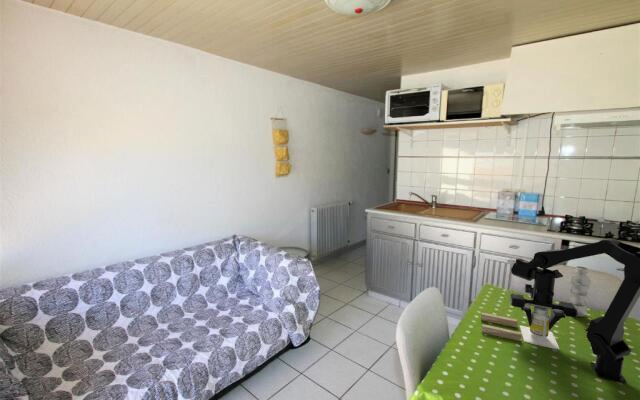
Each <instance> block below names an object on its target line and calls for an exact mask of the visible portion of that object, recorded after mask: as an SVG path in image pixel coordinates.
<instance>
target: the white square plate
mask: <svg viewBox="0 0 640 400" xmlns="http://www.w3.org/2000/svg"><path fill="white" fill-rule="evenodd" d="M519 330H520V332H521V338H522V340H523V342H524V343H527V344H531V345H536V346H540V347H545V348H550V349H553V350H558V351H560V350H561V348H560V347H559V345H558V342H557V340H556V338H555V335H554V333H553V332H552V331H551V330H549V333H548V337H546V338H541V337H537V336H535V335H533V334H532V333H531V332H530V326H524V325H521V324H520V325H519Z"/></svg>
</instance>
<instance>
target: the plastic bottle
mask: <svg viewBox="0 0 640 400" xmlns="http://www.w3.org/2000/svg"><path fill="white" fill-rule="evenodd" d="M588 271H589V268H587V267H584V266H580V265H579V266H576V267H575V273H573V275H571V276H570V278H569V281H570V282H569V283H570V284H569V285H570V291H569V298H568V301H567V303H572V304H573V305H574V306H575V308H576V309H577V311H578V315H577V317H585V316H586V315H587V312H588V307H587V305H588V303H587V300H588V299H587V298H588V293H589V290H590V287H591V284H592V282H591V278H590V277H589V276H588V273H589V272H588Z"/></svg>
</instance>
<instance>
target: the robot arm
mask: <svg viewBox="0 0 640 400" xmlns="http://www.w3.org/2000/svg"><path fill="white" fill-rule="evenodd" d="M602 254H603V255H604V254H605V255H608V256H609V257H611V258H612V259H614V260H615V262H618V263H620V264H622V265H624V267H623V276H624V277H623V280H622V282H621V284H620V286H618V287H619V288H618V289H617V291H616V292H615V295H614V297H613V299H612V300H611V302H610V304H609V306H608V308H607V309H606V312H605V313H604V315H602V316H598V317H596V318H594V319H590V322H589V325H588V327H587V328H586V329H585V330H584V331H585V332H586V334H585V335H586V338H587V340H588V342H589V344H590V346H591V351H592V354H594V355H596V357H595V362H593V361H592V362H590V363H589V364H590V366H591V368H592V369H593V371H594V373H595V374H596V376H597V377H599V378H603V379H605V380H610V381H614V382H618V383H621V384H627V379H625V377H624V376H623V374H622V373H623V367H624V360H625V359H624V357H627V356H629V355H630V354H631V353H632V349H631V348H630V347H629V345H628V343H626V341H625V340H624V339H623V338H624V333H625V327H624V326H625V325H624V324H625V323H626V321H627V319H628V317H629V315H630V313H631V312H632V310H633V309H634V307H635V305H636V303H637V302H638V300H639V298H640V247H639V246H636V245H632V244H629V243H625V242H623V241H621V240H618V239H615V238H605V239H602V240H601V239H600V240H599V241H597V242H591V243H588V244H583V245H579V246H574V247H569V248H565V249H562V248H561V249H547V250H542V251H537V252H535V253H534V255H533V258H532V259H531V260H530V261H528V260H525V259H524V258H521V257H520V258H516V259H515V262H514V263H513V264H512V266H511V268H510V273H511V274H512V275H513V276H515V277H516V278H521V279H523V280H525V281H528V282H529V281H530V282H531V281H533V280H534V281H533V285H532V284H527V283H525V284H524V285H525V286H524V293H525V294H529V295H530V298H531V299H528V298H525V297H524V295H523V294H518V293H511V294H509V302H510V305H511V307H516V308H519V309H520V310H521V311H524V313H525V315H526V318H527V323H528V327H530V326H531V313H532V309H531V306H533V307H534V306H537V307H543V308H547V309H548V310H549V309H550V315H549V317H550V323H549V331H551V330H552V329H553V327H554V326H555V325H556V324H557V322H559V321H560V320H561V319H563V318H564V319H566V317H569V318H575V319H576V318H578V316H577V315H578V311H577V309H576V308H575V306H574V305H573V304H572V303H568V301H566V302H565V301H559V302H558V303H553V302H554V296H555V292H554V291H555V284H556V283H555V282H556V279H560V278H563V277H564V275H563V274H562V273H561V272H560V270H559V269H553V270H552V269H550V268H553V267H558V266H560V265H563V264H566V263H567V262H570V261H572V260H577V259H582V258H589V257H594V256H599V255H602Z"/></svg>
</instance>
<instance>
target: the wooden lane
mask: <svg viewBox="0 0 640 400" xmlns="http://www.w3.org/2000/svg"><path fill="white" fill-rule="evenodd" d="M480 321H484V322H490V323H492V324H493V323H494V324H498V325H504V326H508V327H513V328H518V319H516V318H511V317H506V316H501V315H497V314H496V315H495V314H491V313H486V312H481V316H480ZM481 333H483V334H487V335H492V336H495V337H501V338H505V339H509V340H514V341H517V342H518V341H519V342H521V341H522V340H521V339H522V333H521V331H515V330H512V329H507V328H501V327H498V326H497V327H496V326H493V325H488V324H485V323H482V327H481Z"/></svg>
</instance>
